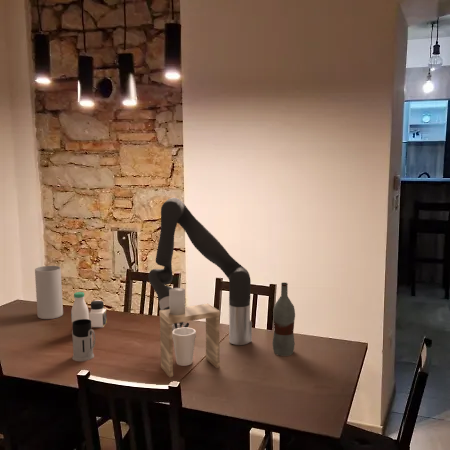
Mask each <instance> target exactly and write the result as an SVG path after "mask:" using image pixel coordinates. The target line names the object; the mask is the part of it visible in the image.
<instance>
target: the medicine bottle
mask: <svg viewBox="0 0 450 450" xmlns="http://www.w3.org/2000/svg"><path fill="white" fill-rule="evenodd" d="M104 307H105V306H104V301H103V300H97V299H96V300H93V301H91V302H90V310H89V311H88V313H89V320H91V328H104V327H105V326H106V324H107V322H108V320H107V319H108V317H107V315H108V314H107V308H104Z"/></svg>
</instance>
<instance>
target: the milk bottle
mask: <svg viewBox="0 0 450 450" xmlns="http://www.w3.org/2000/svg"><path fill="white" fill-rule="evenodd" d="M73 299H74V302H73V304H72V306H71V307H72V308H71V311H70V313H71V314H70V316H71V323H72V322H74V321H76V320H80V319H88V320H89V308H88V305H87V303H86V301H85V293H84V292H83V291H79V292H78V291H76V292H74V293H73ZM72 332H73V327H72V326H71V333H72Z"/></svg>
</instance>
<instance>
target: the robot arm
mask: <svg viewBox="0 0 450 450" xmlns="http://www.w3.org/2000/svg"><path fill="white" fill-rule="evenodd" d="M177 225H179V226H180V227H181V228H182V230H183V231H184V232H185V233H186V235H187V237H188V239H189V241H190V242H191V244H192V245H193V246H194V248H195V249H196V250H197V251H198V252H199V253H200V254H201V255H202V256H203V257H204V258H205V259H207V260H208V261H210V262H211V263H212V264H214V265H215V266H216V267H218V269H220V270H221V272H223V274H224V275H225V276H226V277H227V279H228V284H229V285H228V286H229V287H228V302H229V303H228V313H229V314H228V326H229V327H228V333H229V334H228V341H229V343H230V344H231V345H232V344H233V345H234V346H243V345H244V346H245V345H248V344H249V343H252V342H253V341H252V340H253V339H252V336H253V333H252V332H253V331H252V330H253V327H252V326H253V322H252V320H251V290H252V289H251V284H252V283H251V282H252V281H251V277H250V273H249V271H248V270H247V268H245V267H244V266H243V265H241V264H240V263H239V262H238V261H237V260H236V259H235V258H234V257H232V255H230V253H229V252H228V251H227V250H226V248H225V247H224V246H223V245H222V243H220V241H219V239H217V238H216V236H214V235H213V234H212V233H211V232H210V231H209V230H208V229H207V227H205V225H203V224H202V223H201V222H200V221H199V220H198V219H197V218H196V217H195V216H194V215H193V213H192V212H191V211H190V209H189V208H188V206H186V205H185V203H184V202H183V200H181V199H180V198H177V197H170V198H168V199H167V200H165V201H164V202H163V204H162V205H161V208H160V233H159V239H158V245H157V249H156V254H155V255H156V256H155V263H156V264H157V265H159V266H162V267H163V268H154V269H151V270H150V271H149V272H148V281H149V283H150V286H151V287H152V288H153V290H154V291H155V294H156V295H157V300H158V303H159V308H160V310H159V311H161V310H168V309H169V290H170V289H172V288H173V287H172V286H170V285H169V284H171V282H172V281H173V275H174V274H173V269H172V266H173V265H172V262H173V261H172V260H173V255H174V249H175V233H176V229H177ZM189 325H190V322H180V323H174V324H172V331H173V330H174V329H177V328H182V327H188V328H189ZM172 340H173V338H172Z"/></svg>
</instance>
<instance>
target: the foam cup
mask: <svg viewBox="0 0 450 450" xmlns="http://www.w3.org/2000/svg"><path fill="white" fill-rule="evenodd" d="M172 338H173V339H172V340H173V348H174V357H175V361H176V365H178V366H189V365H191V364H193V359H194V351H195V343H196V338H197V331H196V329H194V328H192V327H189V326H188V327H183V326H182V327H181V328H177V329H174V330H173V331H172Z"/></svg>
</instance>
